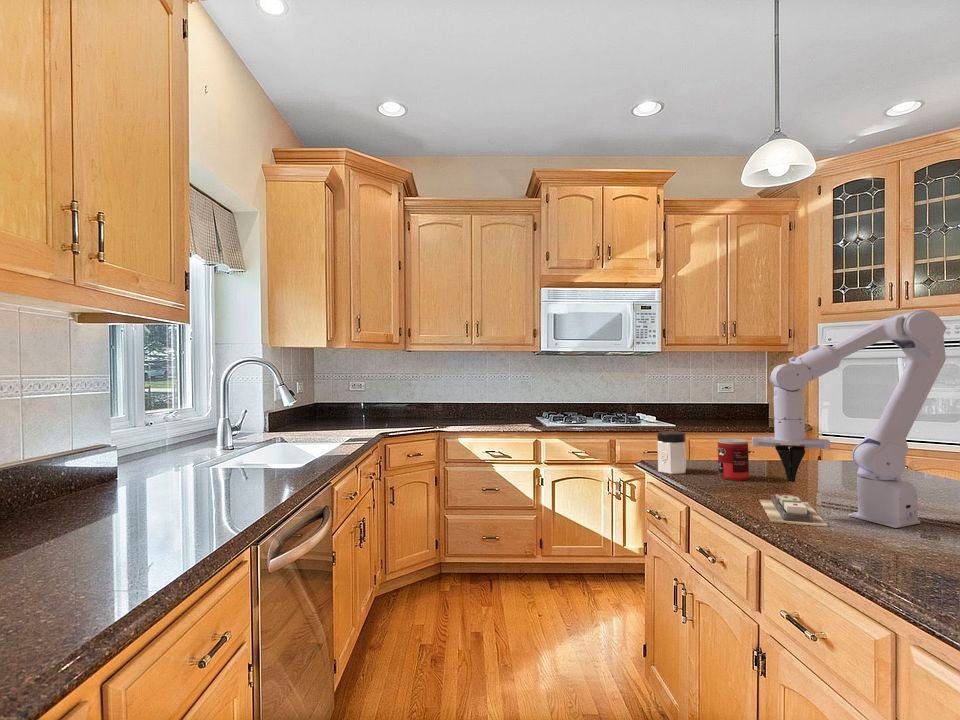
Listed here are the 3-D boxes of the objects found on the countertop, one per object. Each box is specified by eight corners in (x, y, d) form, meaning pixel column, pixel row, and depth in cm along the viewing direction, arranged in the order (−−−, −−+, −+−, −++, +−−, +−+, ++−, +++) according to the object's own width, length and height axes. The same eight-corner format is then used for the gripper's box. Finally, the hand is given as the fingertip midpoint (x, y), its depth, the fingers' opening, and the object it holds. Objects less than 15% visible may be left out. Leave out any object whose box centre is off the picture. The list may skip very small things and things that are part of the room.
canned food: (722, 474, 155) (721, 437, 156) (751, 477, 150) (750, 439, 150) (715, 478, 149) (714, 440, 150) (745, 482, 144) (744, 442, 145)
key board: (827, 527, 105) (827, 518, 105) (771, 522, 108) (771, 514, 108) (807, 504, 121) (807, 496, 121) (759, 500, 125) (759, 493, 125)
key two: (801, 507, 113) (801, 500, 113) (782, 506, 114) (782, 499, 114) (797, 503, 116) (797, 496, 116) (779, 502, 117) (779, 495, 117)
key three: (796, 505, 118) (796, 498, 118) (778, 504, 119) (778, 497, 119) (793, 501, 121) (792, 495, 121) (775, 500, 122) (775, 494, 122)
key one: (807, 514, 107) (807, 507, 107) (787, 513, 109) (787, 505, 109) (803, 509, 111) (803, 502, 111) (784, 508, 112) (783, 501, 112)
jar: (651, 470, 162) (650, 432, 162) (667, 467, 167) (666, 430, 167) (677, 475, 155) (676, 435, 155) (692, 471, 160) (691, 432, 160)
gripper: (824, 417, 114) (826, 479, 114) (750, 416, 120) (752, 474, 120) (831, 420, 108) (833, 486, 108) (752, 419, 114) (754, 481, 114)
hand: (790, 480), depth 114 cm, fingers closed
